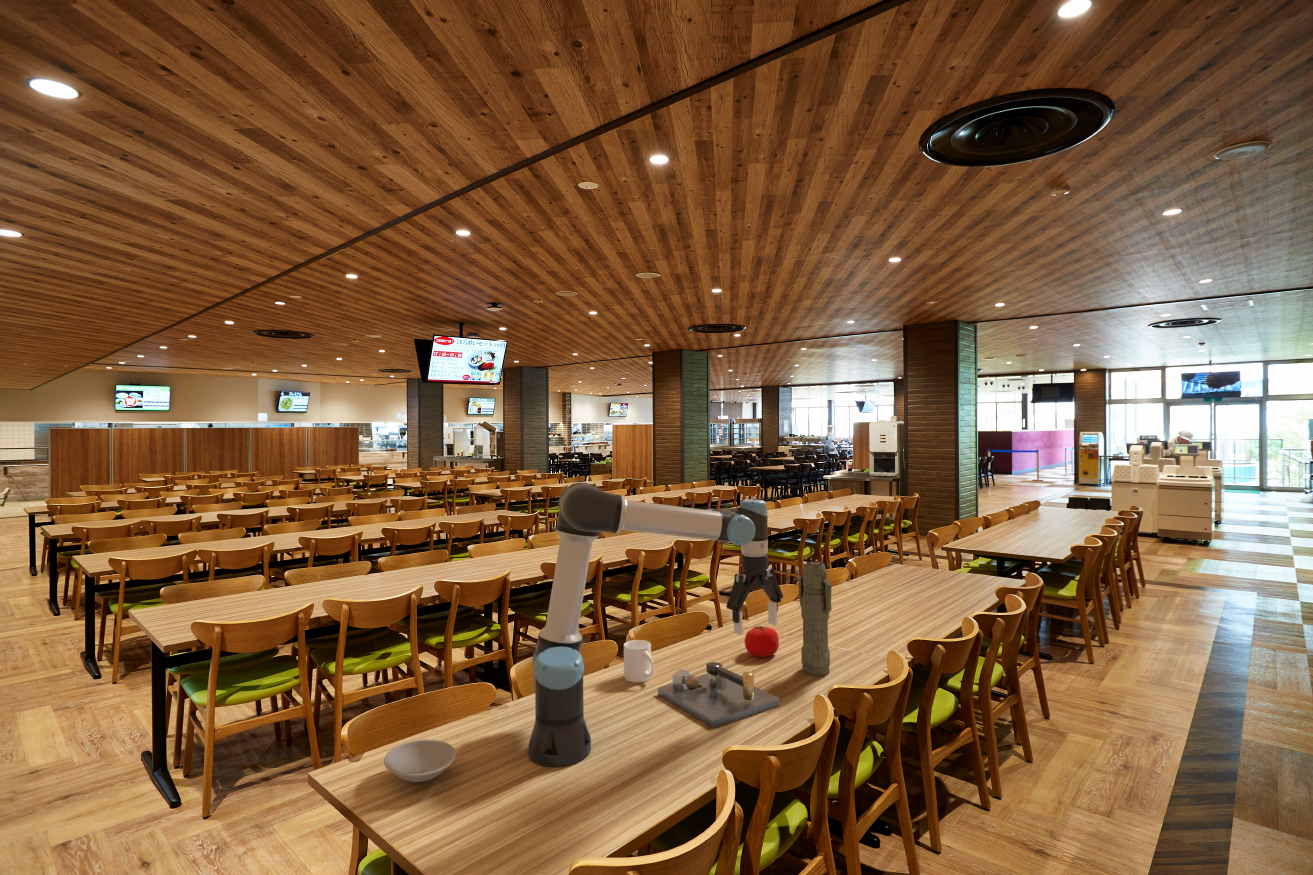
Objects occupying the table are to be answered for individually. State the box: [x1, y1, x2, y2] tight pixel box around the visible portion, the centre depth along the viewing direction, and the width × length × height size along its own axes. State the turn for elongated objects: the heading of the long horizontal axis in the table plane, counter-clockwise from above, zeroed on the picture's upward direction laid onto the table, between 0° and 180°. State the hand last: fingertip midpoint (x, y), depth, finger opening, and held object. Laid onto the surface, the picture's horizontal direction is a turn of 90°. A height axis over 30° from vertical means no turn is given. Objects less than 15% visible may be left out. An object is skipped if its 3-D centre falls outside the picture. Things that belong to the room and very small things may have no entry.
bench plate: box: [657, 668, 781, 729], centre depth 179 cm, size 24×26×6 cm
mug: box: [623, 639, 654, 684], centre depth 195 cm, size 9×12×11 cm
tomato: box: [744, 625, 780, 658], centre depth 216 cm, size 11×13×10 cm
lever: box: [705, 661, 755, 700], centre depth 179 cm, size 5×19×7 cm, turn 34°
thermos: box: [798, 561, 832, 677], centre depth 200 cm, size 9×12×35 cm
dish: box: [383, 738, 457, 783], centre depth 139 cm, size 18×14×5 cm
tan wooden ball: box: [686, 674, 699, 689], centre depth 182 cm, size 4×4×4 cm
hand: (756, 628), depth 176 cm, fingers open, 13 cm apart
